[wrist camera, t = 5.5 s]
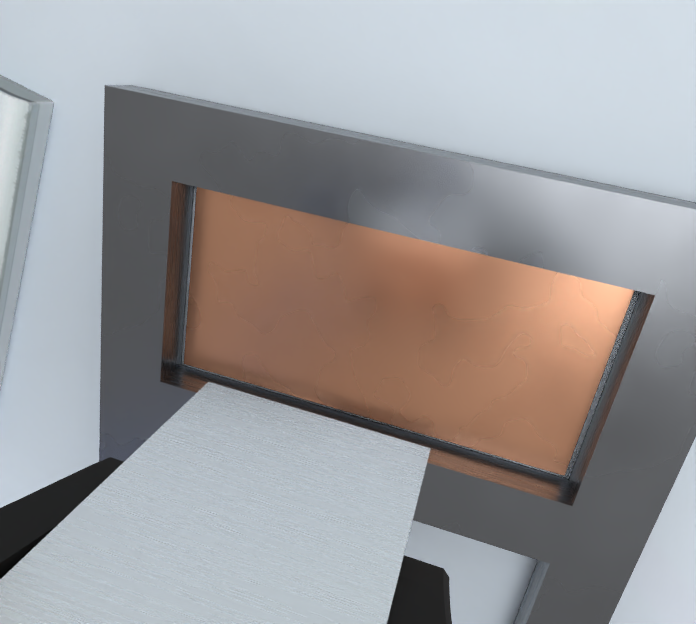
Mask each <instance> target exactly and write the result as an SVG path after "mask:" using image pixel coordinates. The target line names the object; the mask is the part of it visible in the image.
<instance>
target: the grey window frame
mask: <svg viewBox="0 0 696 624" xmlns="http://www.w3.org/2000/svg"><path fill="white" fill-rule="evenodd" d="M194 186H195V187H197V191H196V204H195V218H194V231H193V245H192V258H191V272H190V285H189V299H188V312H187V326H186V339H185V353H184V364H186V365H189V366H193V367H196V368H200V369H203V370H206V371H210V372H213V373H217V374H220V375H223V376H227V377H230V378H234V379H237V380H241V381H244V382H247V383H251V384H254V385H258V386H261V387H264V388H268V389H271V390H275V391H278V392H281V393H285V394H288V395H292V396H295V397H298V398H302V399H305V400H309V401H312V402H315V403H319V404H322V405H326V406H329V407H332V408H336V409H339V410H343V411H346V412H349V413H353V414H356V415H360V416H363V417H366V418H370V419H373V420H377V421H380V422H383V423H387V424H390V425H394V426H397V427H400V428H404V429H407V430H411V431H414V432H417V433H421V434H424V435H428V436H431V437H435V438H438V439H441V440H445V441H448V442H452V443H455V444H458V445H462V446H465V447H469V448H472V449H475V450H479V451H482V452H486V453H489V454H492V455H496V456H499V457H503V458H506V459H509V460H513V461H516V462H520V463H523V464H526V465H530V466H533V467H537V468H540V469H543V470H547V471H550V472H554V473H557V474H560V475H565V473H566V470H567V468H568V465H569V462H570V460H571V457H572V454H573V452H574V449H575V446H576V444H577V441H578V438H579V436H580V433H581V430H582V428H583V425H584V423H585V420H586V417H587V415H588V412H589V409H590V407H591V404H592V401H593V399H594V396H595V393H596V391H597V388H598V386H599V383H600V380H601V378H602V375H603V372H604V370H605V367H606V364H607V362H608V359H609V356H610V354H611V351H612V348H613V346H614V343H615V341H616V338H617V335H618V333H619V330H620V327H621V325H622V322H623V319H624V317H625V314H626V311H627V309H628V306H629V304H630V301H631V298H632V296H633V293H634V290H635V291H639V292H641V293H640V295H639V298H638V301H637V303H636V306H635V308H634V311H633V314H632V316H631V319H630V321H629V324H628V327H627V329H626V332H625V335H624V337H623V340H622V342H621V345H620V348H619V350H618V353H617V355H616V358H615V361H614V363H613V366H612V368H611V371H610V374H609V376H608V379H607V382H606V384H605V387H604V389H603V392H602V395H601V397H600V400H599V402H598V405H597V408H596V410H595V413H594V416H593V418H592V421H591V423H590V426H589V429H588V431H587V434H586V436H585V439H584V442H583V444H582V447H581V449H580V452H579V455H578V457H577V460H576V463H575V465H574V468H573V470H572V473H571V476H570V478H569V479H566V478H562V477H559V476H556V475H552V474H549V473H546V472H542V471H539V470H535V469H532V468H529V467H525V466H522V465H518V464H515V463H512V462H508V461H505V460H501V459H498V458H495V457H491V456H488V455H484V454H481V453H478V452H474V451H471V450H467V449H464V448H461V447H457V446H454V445H450V444H447V443H444V442H440V441H437V440H433V439H430V438H427V437H423V436H420V435H416V434H413V433H410V432H406V431H403V430H399V429H396V428H393V427H389V426H386V425H383V424H379V423H376V422H372V421H369V420H366V419H362V418H359V417H355V416H352V415H349V414H345V413H342V412H338V411H335V410H332V409H328V408H325V407H321V406H318V405H315V404H311V403H308V402H304V401H301V400H298V399H294V398H291V397H287V396H284V395H281V394H277V393H274V392H270V391H267V390H264V389H260V388H257V387H253V386H250V385H247V384H243V383H240V382H237V381H233V380H230V379H226V378H223V377H220V376H216V375H213V374H209V373H206V372H203V371H199V370H196V369H192V368H189V367H186V366H182V365H181V354H182V340H183V326H184V312H185V298H186V284H187V271H188V257H189V243H190V229H191V215H192V201H193V187H194ZM208 382H211V383H215V384H218V385H221V386H225V387H228V388H231V389H235V390H238V391H241V392H245V393H248V394H251V395H255V396H258V397H261V398H265V399H268V400H271V401H275V402H278V403H281V404H285V405H288V406H291V407H295V408H298V409H301V410H305V411H308V412H311V413H315V414H318V415H321V416H325V417H328V418H331V419H335V420H338V421H341V422H345V423H348V424H351V425H355V426H358V427H361V428H365V429H368V430H371V431H375V432H378V433H381V434H385V435H388V436H391V437H395V438H398V439H401V440H405V441H408V442H411V443H415V444H418V445H421V446H424V447H428V448H431V449H430V453H429V457H428V461H427V465H426V469H425V473H424V477H423V481H422V485H421V489H420V493H419V497H418V501H417V505H416V509H415V513H414V517H413V520H415V521H418V522H421V523H424V524H428V525H431V526H434V527H437V528H440V529H443V530H446V531H449V532H452V533H456V534H459V535H462V536H465V537H468V538H471V539H474V540H477V541H481V542H484V543H487V544H490V545H493V546H496V547H499V548H502V549H506V550H509V551H512V552H515V553H518V554H521V555H524V556H527V557H531V558H534V559H537V560H538V562H537V564H536V567H535V570H534V572H533V575H532V578H531V580H530V583H529V585H528V588H527V591H526V593H525V596H524V598H523V601H522V604H521V606H520V609H519V611H518V614H517V617H516V619H515V622H514V624H609V621H610V619H611V617H612V615H613V613H614V611H615V608H616V606H617V604H618V602H619V600H620V598H621V596H622V593H623V591H624V589H625V587H626V585H627V583H628V581H629V578H630V576H631V574H632V572H633V570H634V568H635V566H636V563H637V561H638V559H639V557H640V555H641V553H642V551H643V548H644V546H645V544H646V542H647V540H648V538H649V536H650V533H651V531H652V529H653V527H654V525H655V523H656V521H657V518H658V516H659V514H660V512H661V510H662V508H663V506H664V503H665V501H666V499H667V497H668V495H669V493H670V491H671V488H672V486H673V484H674V482H675V480H676V478H677V476H678V473H679V471H680V469H681V467H682V465H683V463H684V460H685V458H686V456H687V454H688V452H689V450H690V448H691V445H692V443H693V441H694V439H695V437H696V203H694V202H690V201H685V200H680V199H675V198H670V197H666V196H661V195H656V194H651V193H646V192H642V191H637V190H632V189H627V188H622V187H618V186H613V185H608V184H603V183H598V182H594V181H589V180H584V179H579V178H574V177H570V176H565V175H560V174H555V173H550V172H546V171H541V170H536V169H531V168H526V167H521V166H517V165H512V164H507V163H502V162H497V161H493V160H488V159H483V158H478V157H473V156H469V155H464V154H459V153H454V152H449V151H445V150H440V149H435V148H430V147H425V146H421V145H416V144H411V143H406V142H401V141H397V140H392V139H387V138H382V137H377V136H373V135H368V134H363V133H358V132H353V131H349V130H344V129H339V128H334V127H329V126H325V125H320V124H315V123H310V122H305V121H301V120H296V119H291V118H286V117H281V116H277V115H272V114H267V113H262V112H257V111H253V110H248V109H243V108H238V107H233V106H229V105H224V104H219V103H214V102H209V101H205V100H200V99H195V98H190V97H185V96H180V95H176V94H171V93H166V92H161V91H156V90H152V89H147V88H142V87H137V86H132V85H105V107H104V175H103V243H102V312H101V380H100V448H99V462H100V461H102V460H104V459H107V458H109V457H112V458H115V459H118V460H121V461H124V462H125V461H126V460H127V459H128V458H129V457H130V456H131V455H132V454H133V453H134V452H135V451H136V450H137V449H138V448H139V447H140V446H141V445H142V444H143V443H145V442H146V441H147V440H148V439H149V438H150V437H151V436H152V435H153V434H154V433H155V432H156V431H157V430H158V429H159V428H160V427H161V426H162V425H163V424H164V423H166V422H167V421H168V420H169V419H170V418H171V417H172V416H173V415H174V414H175V413H176V412H177V411H178V410H179V409H180V408H181V407H182V406H183V405H184V404H186V403H187V402H188V401H189V400H190V399H191V398H192V397H193V396H194V395H195V394H196V393H197V392H198V391H199V390H200V389H201V388H202V387H203V386H204V385H206V384H207V383H208Z"/></svg>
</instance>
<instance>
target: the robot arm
mask: <svg viewBox="0 0 696 624" xmlns="http://www.w3.org/2000/svg"><path fill="white" fill-rule="evenodd" d="M123 462H124V461H121V460H118V459H115V458H112V457H109V458H107V459H104V460H102V461H100V462H98V463H95V464H93V465H91V466H89V467H87V468H84V469H82V470H80V471H78V472H76V473H74V474H72V475H70V476H67V477H65V478H63V479H61V480H59V481H57V482H55V483H53V484H51V485H49V486H46V487H44V488H42V489H40V490H38V491H36V492H34V493H32V494H30V495H28V496H25V497H23V498H21V499H19V500H17V501H15V502H13V503H10V504H8V505H6V506H4V507H2V508H0V579H1V578H3V577H4V576H5V575H6V574H7V573H8V572H9V571H10V570H11V569H12V568H13V567H14V566H15V565H16V564H17V563H18V562H19V561H20V560H21V559H22V558H24V557H25V556H26V555H27V554H28V553H29V552H30V551H31V550H32V549H33V548H34V547H35V546H36V545H37V544H38V543H39V542H40V541H41V540H42V539H44V538H45V537H46V536H47V535H48V534H49V533H50V532H51V531H52V530H53V529H54V528H55V527H56V526H57V525H58V524H59V523H60V522H61V521H62V520H64V519H65V518H66V517H67V516H68V515H69V514H70V513H71V512H72V511H73V510H74V509H75V508H76V507H77V506H78V505H79V504H80V503H81V502H82V501H83V500H85V499H86V498H87V497H88V496H89V495H90V494H91V493H92V492H93V491H94V490H95V489H96V488H97V487H98V486H99V485H100V484H101V483H102V482H103V481H105V480H106V479H107V478H108V477H109V476H110V475H111V474H112V473H113V472H114V471H115V470H116V469H117V468H118V467H119V466H120V465H121V464H122V463H123ZM387 624H452V621H451V611H450V596H449V577H448V575H447V573H446V572H445V570H444V569H443V568H440V567H437V566H434V565H431V564H428V563H425V562H422V561H419V560H416V559H413V558H410V557H407V556H404V557H403V561H402V565H401V569H400V573H399V577H398V581H397V585H396V589H395V593H394V597H393V601H392V604H391V608H390V612H389V616H388V620H387Z"/></svg>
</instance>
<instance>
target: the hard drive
mask: <svg viewBox="0 0 696 624" xmlns="http://www.w3.org/2000/svg"><path fill="white" fill-rule="evenodd" d="M53 106H54V102H53V101H52V100H50V99H48V98H46V97H43V96H41V95H39V94H37V93H35V92H33V91H31V90H29V89H27V88H25V87H23V86H21V85H19V84H17V83H15V82H13V81H11V80H10V79H8V78H6V77H4V76H2V75H0V389H1V384H2V379H3V373H4V368H5V363H6V357H7V352H8V347H9V341H10V336H11V331H12V326H13V320H14V315H15V310H16V304H17V299H18V294H19V288H20V283H21V277H22V272H23V267H24V261H25V256H26V251H27V245H28V240H29V235H30V229H31V224H32V219H33V213H34V208H35V203H36V197H37V192H38V187H39V181H40V176H41V171H42V165H43V160H44V154H45V149H46V144H47V138H48V133H49V128H50V122H51V117H52V111H53Z"/></svg>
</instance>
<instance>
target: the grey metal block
mask: <svg viewBox="0 0 696 624" xmlns="http://www.w3.org/2000/svg"><path fill="white" fill-rule="evenodd" d="M430 449H431V448H428V447H424V446H421V445H418V444H415V443H411V442H408V441H405V440H401V439H398V438H395V437H391V436H388V435H385V434H381V433H378V432H375V431H371V430H368V429H365V428H361V427H358V426H355V425H351V424H348V423H345V422H341V421H338V420H335V419H331V418H328V417H325V416H321V415H318V414H315V413H311V412H308V411H305V410H301V409H298V408H295V407H291V406H288V405H285V404H281V403H278V402H275V401H271V400H268V399H265V398H261V397H258V396H255V395H251V394H248V393H245V392H241V391H238V390H235V389H231V388H228V387H225V386H221V385H218V384H215V383H211V382H208V383H207V384H206V385H204V386H203V387H202V388H201V389H200V390H199V391H198V392H197V393H196V394H195V395H194V396H193V397H192V398H191V399H190V400H189V401H188V402H187V403H186V404H184V405H183V406H182V407H181V408H180V409H179V410H178V411H177V412H176V413H175V414H174V415H173V416H172V417H171V418H170V419H169V420H168V421H167V422H166V423H164V424H163V425H162V426H161V427H160V428H159V429H158V430H157V431H156V432H155V433H154V434H153V435H152V436H151V437H150V438H149V439H148V440H147V441H146V442H145V443H143V444H142V445H141V446H140V447H139V448H138V449H137V450H136V451H135V452H134V453H133V454H132V455H131V456H130V457H129V458H128V459H127V460H126V461H125V462H123V463H122V464H121V465H120V466H119V467H118V468H117V469H116V470H115V471H114V472H113V473H112V474H111V475H110V476H109V477H108V478H107V479H106V480H105V481H103V482H102V483H101V484H100V485H99V486H98V487H97V488H96V489H95V490H94V491H93V492H92V493H91V494H90V495H89V496H88V497H87V498H86V499H85V500H83V501H82V502H81V503H80V504H79V505H78V506H77V507H76V508H75V509H74V510H73V511H72V512H71V513H70V514H69V515H68V516H67V517H66V518H65V519H64V520H62V521H61V522H60V523H59V524H58V525H57V526H56V527H55V528H54V529H53V530H52V531H51V532H50V533H49V534H48V535H47V536H46V537H45V538H44V539H42V540H41V541H40V542H39V543H38V544H37V545H36V546H35V547H34V548H33V549H32V550H31V551H30V552H29V553H28V554H27V555H26V556H25V557H24V558H22V559H21V560H20V561H19V562H18V563H17V564H16V565H15V566H14V567H13V568H12V569H11V570H10V571H9V572H8V573H7V574H6V575H5V576H4V577H3V578H1V579H0V624H387V620H388V616H389V612H390V608H391V604H392V601H393V597H394V593H395V589H396V585H397V581H398V577H399V573H400V569H401V565H402V561H403V557H404V553H405V549H406V545H407V541H408V537H409V533H410V529H411V525H412V521H413V517H414V513H415V509H416V505H417V501H418V497H419V493H420V489H421V485H422V481H423V477H424V473H425V469H426V465H427V461H428V457H429V453H430Z"/></svg>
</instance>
